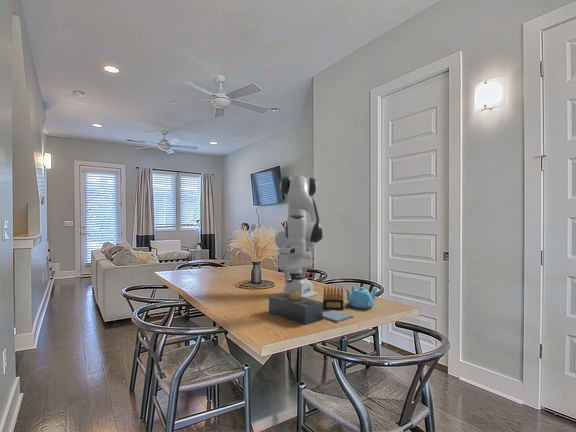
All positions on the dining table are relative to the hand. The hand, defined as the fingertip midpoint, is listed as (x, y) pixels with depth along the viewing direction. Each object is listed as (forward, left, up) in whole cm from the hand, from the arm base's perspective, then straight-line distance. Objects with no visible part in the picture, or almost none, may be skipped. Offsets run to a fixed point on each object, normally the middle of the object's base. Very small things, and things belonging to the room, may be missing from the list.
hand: (295, 278), depth 153 cm
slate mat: (-14, +13, -18) cm, 26 cm away
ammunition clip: (-24, +4, -18) cm, 31 cm away
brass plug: (0, 0, -14) cm, 14 cm away
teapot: (-41, +9, -18) cm, 46 cm away
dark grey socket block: (0, 0, -18) cm, 18 cm away
